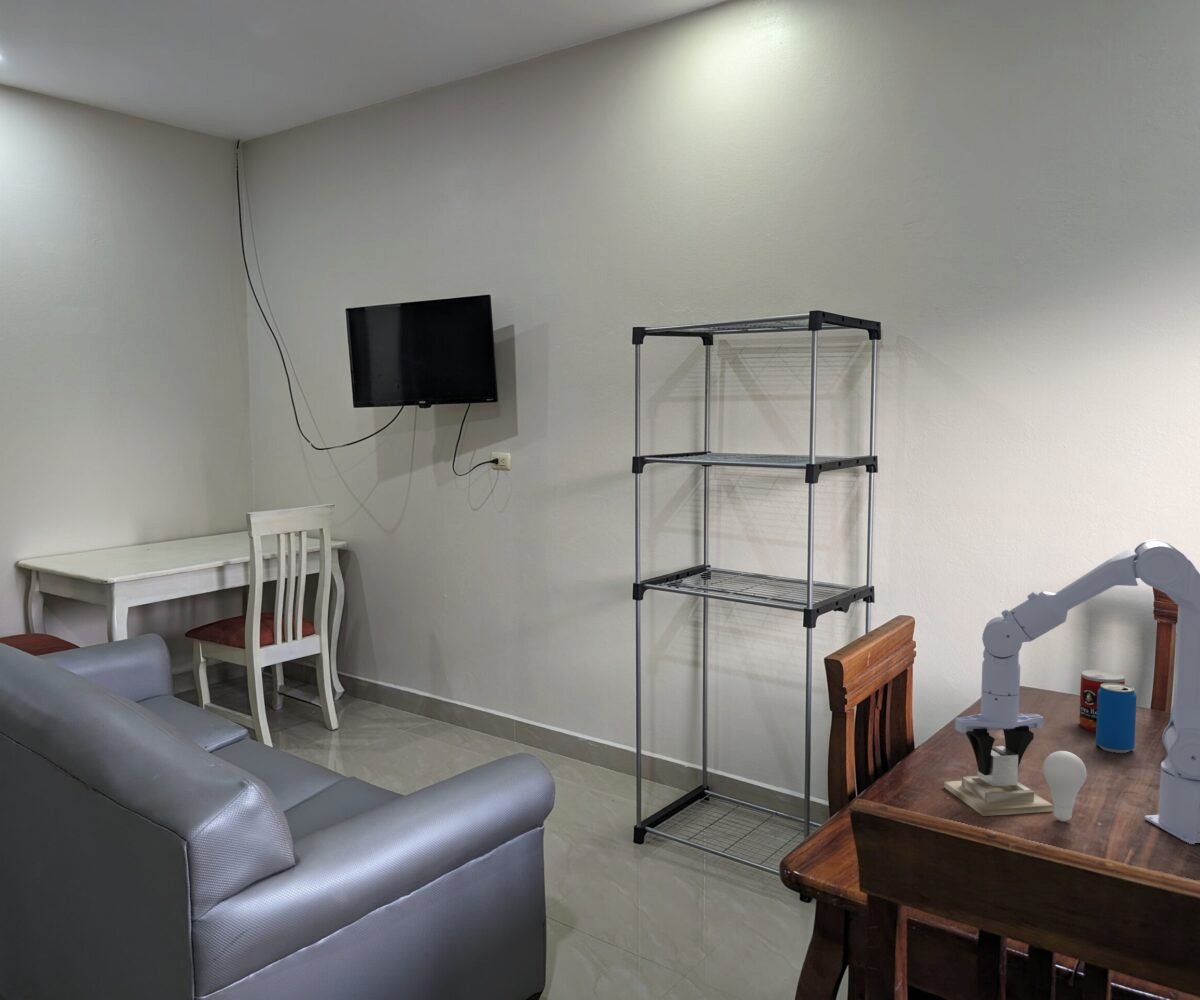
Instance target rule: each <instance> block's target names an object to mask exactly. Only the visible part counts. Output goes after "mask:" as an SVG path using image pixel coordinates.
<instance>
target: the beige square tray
mask: <svg viewBox="0 0 1200 1000" xmlns="http://www.w3.org/2000/svg"><path fill="white" fill-rule="evenodd" d="M943 783H944V784H943V785H944V786H943V787H944V788H945V789H946V790H947V791H949V792H950V793H951V794H953V796H955V797H957V798H958V799H959V800H961V802H964V803H965V804H966V805H967V806H969V807H970V808H972V809H973V810H974V811H975V812H977V813H978V814H980V815H981V816H983V817H988V816H1004V815H1019V814H1033V813H1034V814H1035V813H1047V812H1048V813H1049V812H1054V804H1053V803H1050V802H1049V801H1047V800H1046V799H1044V798H1043V797H1041V796H1040V795H1038V794H1037V793H1035V791H1034V790H1032V789H1030V788H1029V787H1027V786H1026V785H1024V784H1022V783H1021V782H1019V781H1018V780H1017V785H1009V786H993V787H992V786H991V785H989V784H988V783H986V782H985V781H983V780H982V779H980V778H979V777H977V775H972V776H971V775H968V776H961V780H952V781H951V780H950V781H944V782H943Z"/></svg>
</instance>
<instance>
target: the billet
mask: <svg viewBox="0 0 1200 1000" xmlns="http://www.w3.org/2000/svg"><path fill="white" fill-rule="evenodd" d="M1018 770H1019V767H1018V755H1017V754H1016V753H1014V752H1012V751H1011V750H1009V749H1007V748H1006V746H1005V745H993V746H992V751H991V756H990V771H989V775H983V774H982V773H980V772H979V771H978V770H977V775H976V776H977V777H979V778H980V779H982V780H983V781H985V782H986V783H988V784H989V785H991V786H992V787H993V786H1009V785H1017V781H1018V776H1019V775H1018V774H1019V771H1018Z"/></svg>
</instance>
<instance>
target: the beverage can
mask: <svg viewBox="0 0 1200 1000" xmlns="http://www.w3.org/2000/svg"><path fill="white" fill-rule="evenodd" d="M1137 696H1138V695H1137V693H1136V692H1135V688H1134V687H1133V686H1131V685H1128V684H1125V685H1124V684H1118V683H1103V684H1101V688H1100V689H1099V690H1098V699H1097V724H1096V731H1095V743H1096V745H1098V747H1100V749H1101V750H1104V751H1106V752H1109V753H1114V752H1115V753H1114V754H1127V752H1128V753H1129V752H1130V751H1132V750H1134V749H1135V745H1136V743H1135V742H1136V741H1135V740H1136V738H1135V737H1136V717H1137V715H1136V714H1137Z"/></svg>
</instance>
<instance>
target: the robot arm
mask: <svg viewBox="0 0 1200 1000" xmlns="http://www.w3.org/2000/svg"><path fill="white" fill-rule="evenodd" d="M1137 579H1140V581H1142V582H1143V583H1144V584H1146V585H1147V586H1149V587H1151V588H1153V589H1156V590H1158V591H1160V592H1162V593H1164V594H1166V596H1167V597H1168V598H1170V599H1171V601H1173V603H1175V604H1176V605H1177V619H1176V620H1177V621H1176V624H1177V625H1176V638H1175V639H1176V641H1175V645H1176V646H1175V658H1174V659H1175V661H1174V662H1175V663H1174V682H1173V700H1172V701H1173V703H1172V706H1171V710H1170V719H1169V722H1168V725H1166V727H1165V728H1164V729H1163V733H1162V735H1161V736H1162V737H1161V738H1162V744H1163V746H1164V749H1165V750H1166V753H1167V756H1166V758H1165V759H1164V760H1163V761H1161V763H1160V776H1159V777H1160V778H1159V779H1160V781H1159V782H1160V783H1159V802H1158V814H1151V815H1147V814H1146V815H1144V819H1145V820H1146V821H1147V822H1150V823H1151V824H1153V825H1154V826H1157V827H1158V828H1161V829H1162V830H1164V831H1166V832H1167V833H1169V834H1171V835H1172V836H1174V837H1175V838H1178V839H1180V840H1182V841H1183V842H1185V843H1186V842H1187V844H1188V843H1189V845H1196V844H1195V843H1200V572H1199V571H1198V569H1197V568H1196V567H1195V565H1194V564H1193V562H1192V561H1191V560H1190V559H1188V557H1186V555H1185V554H1184V553H1182V552H1181V551H1180V550H1178V549H1177V548H1175V547H1174V546H1172V545H1171V544H1170V543H1168V542H1167V541H1164V540H1160V539H1150V540H1149V539H1148V540H1146V541H1144V542H1141V543H1139V544H1137V546H1136V547H1135V549H1134V548H1133V547H1131V548H1129V549H1126V550H1124V551H1122V552H1120V553H1118V554H1116V555H1115V556H1112V557H1111V558H1109V559H1107V560H1106V561H1104V562H1102V563H1101V564H1099V565H1098V566H1096V567H1094V568H1093V569H1092V570H1090V571H1088V572H1087V573H1085V574H1083V575H1082V576H1080V577H1079V578H1077V579H1076V580H1074V581H1072V582H1071V583H1070V584H1067V585H1066V586H1065V587H1063V588H1062V589H1060V590H1058V591H1057V592H1050V591H1045V590H1043V591H1040V592H1038V593H1036V592H1035V591H1032V592H1031V593H1029V594H1028V595H1027V600H1025V601H1023V602H1022V603H1020V604H1018V605H1017V606H1015V607H1014V608H1012V609H1010V610H1008V609H1007V608H1005V609H1004V610H1002V611H1001V616H997V617H993V618H992V619H990V620H989V621H988V622H987V623H986V625H985V627H984V630H983V631H982V632H983V633H982V637H981V638H982V643H983V646H984V650H983V652H982V658H983V660H982V666H981V669H982V670H981V694H980V695H981V696H980V698H981V699H980V700H981V701H980V703H981V704H980V713H977V714H972V715H968V716H962V717H955V719H954V730H956V731H957V732H959V733H961V734H965V735H966V737H967V739H968V740H969V744H970V746H971V748H972V750H973V753H974V757H975V761H976V765H977V772H978V771H979V772H980V773H982V774H983V775H989V771H990V756H991V751H992V746H994V743H995V741H996V738H995V737H993V736H991V735H990V732H988V731H996V730H997V731H999V730H1003V735H1004V744H1005V745H1004V746H1005V748H1007V749H1009V750H1011V751H1012V752H1014V753H1016V754H1017V755H1018V768H1019V767H1020V764H1021V761H1022V759H1023V756H1024V754H1025V752H1026V750H1027V748H1028V747H1029V745H1030V744H1031V742H1032V741H1033V740H1034V736H1035V735H1034V733H1035V732H1033V731H1031V730H1030V729H1034V728H1035V729H1036V730H1038V729H1039V730H1042V729H1044V717H1043V716H1042V715H1039V714H1037V713H1020V712H1019V711H1020V687H1021V686H1020V685H1021V664H1020V663H1019V662H1020V661H1019V660H1020V659H1019V657H1020V651H1021V648H1022V646H1023V643H1030V642H1032V641H1034V640H1036V639H1038V638H1040V637H1042V636H1043V635H1045V634H1047V633H1049V632H1050V631H1052V630H1054V629H1056V628H1057V627H1058V626H1060V625H1063V624H1064V623H1066V621H1067V616H1068V611H1070V610H1071V609H1073V608H1075V607H1077V606H1079V605H1081V604H1083V603H1085V602H1087V601H1089V600H1090V599H1092V598H1094V597H1096V596H1097V595H1098V596H1099V595H1100V594H1102V593H1103V592H1106V591H1108V590H1109V589H1112V588H1113V587H1115V586H1128V587H1129V586H1130V587H1131V586H1132V587H1138V586H1139V583H1138V581H1137Z"/></svg>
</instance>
